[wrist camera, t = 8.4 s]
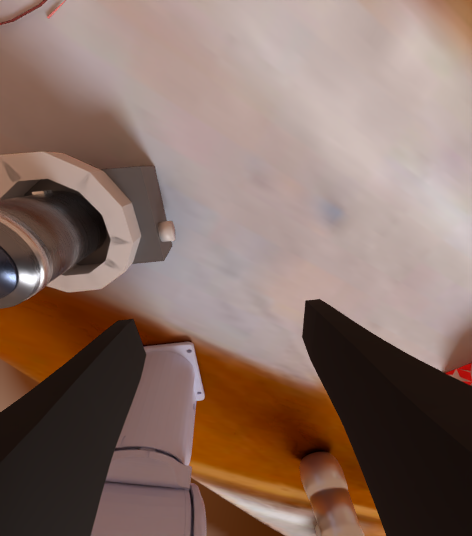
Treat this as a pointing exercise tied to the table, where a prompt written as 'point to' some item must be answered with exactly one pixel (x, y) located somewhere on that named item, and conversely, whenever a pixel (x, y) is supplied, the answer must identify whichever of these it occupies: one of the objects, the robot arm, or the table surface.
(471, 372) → the red patterned gift box
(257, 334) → the table surface
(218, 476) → the table surface
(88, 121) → the table surface
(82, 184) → the camera body
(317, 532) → the lumpy-topped squat cylinder
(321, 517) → the plastic bottle
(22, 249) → the lens
